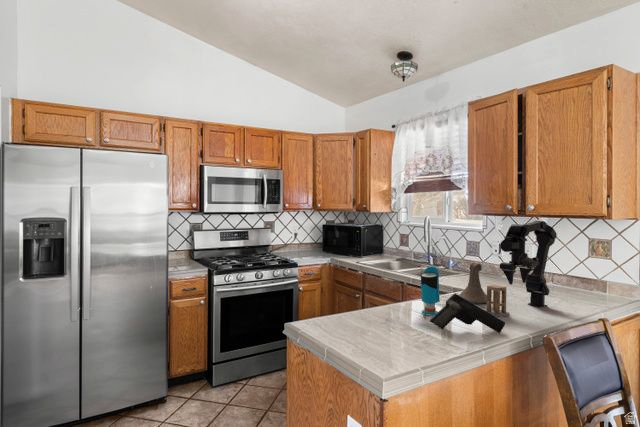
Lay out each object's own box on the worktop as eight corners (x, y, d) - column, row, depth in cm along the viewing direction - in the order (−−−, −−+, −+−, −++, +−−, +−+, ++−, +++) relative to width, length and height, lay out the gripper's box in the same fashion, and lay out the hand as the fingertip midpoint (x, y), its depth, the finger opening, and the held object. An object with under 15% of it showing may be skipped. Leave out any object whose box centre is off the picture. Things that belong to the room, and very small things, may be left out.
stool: (494, 309, 176) (495, 284, 176) (505, 312, 171) (506, 286, 170) (486, 311, 173) (487, 285, 173) (497, 314, 168) (498, 288, 168)
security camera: (416, 267, 170) (427, 265, 178) (416, 313, 171) (426, 309, 178) (434, 269, 165) (444, 267, 172) (433, 317, 165) (443, 312, 172)
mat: (494, 309, 179) (494, 307, 179) (515, 315, 169) (515, 313, 169) (478, 311, 175) (478, 310, 175) (498, 318, 165) (498, 316, 165)
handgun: (485, 355, 146) (506, 323, 144) (430, 321, 150) (449, 290, 149) (484, 352, 149) (504, 321, 147) (429, 320, 153) (448, 289, 151)
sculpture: (497, 301, 194) (498, 263, 194) (478, 306, 184) (479, 266, 184) (468, 295, 208) (469, 259, 207) (449, 299, 198) (450, 261, 198)
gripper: (520, 253, 165) (520, 288, 165) (547, 251, 173) (546, 285, 173) (498, 250, 175) (498, 283, 175) (525, 249, 183) (524, 280, 183)
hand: (517, 283), depth 176 cm, fingers open, 9 cm apart
